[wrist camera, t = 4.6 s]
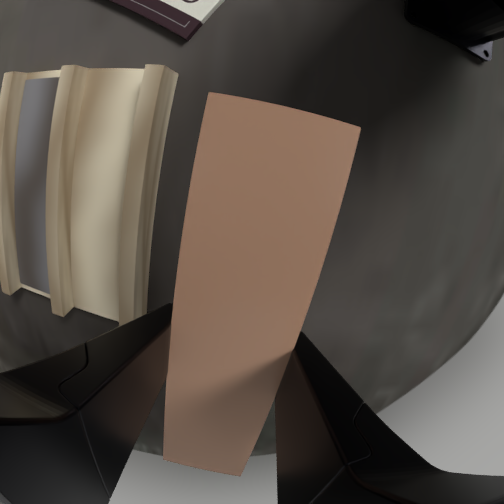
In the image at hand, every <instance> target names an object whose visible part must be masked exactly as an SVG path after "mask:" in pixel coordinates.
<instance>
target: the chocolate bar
mask: <svg viewBox="0 0 504 504" xmlns="http://www.w3.org/2000/svg"><path fill="white" fill-rule="evenodd" d="M109 1H111V2H113V3H116V4H118V5H120V6H122V7H124V8H126V9H129V10H131V11H133V12H135V13H137V14H139V15H141V16H143V17H145V18H147V19H149V20H151V21H153V22H155V23H156V24H158V25H160V26H162V27H164V28H166V29H168V30H170V31H171V32H173V33H175V34H177V35H178V36H180V37H182V38H184V39H185V40H187V41H189V40H190V39H191V37H192V36H193V35H194V34H195V33H196V32H197V30H198V29H199V28H200V27H201V26H202V25H203V24H204V22H205V21H206V20H207V19H208V18H209V17H210V16H211V15H212V14H213V12H214V11H215V10H216V9H217V8H218V7H219V6H220V5H221V4H222V3H223V2H224V1H225V0H109Z"/></svg>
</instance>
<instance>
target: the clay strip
mask: <svg viewBox="0 0 504 504" xmlns="http://www.w3.org/2000/svg"><path fill="white" fill-rule="evenodd" d="M360 130H361V127H358V126H355V125H352V124H348V123H345V122H342V121H338V120H335V119H332V118H328V117H325V116H321V115H317V114H314V113H310V112H306V111H302V110H298V109H294V108H290V107H286V106H281V105H277V104H272V103H268V102H263V101H258V100H253V99H248V98H243V97H237V96H231V95H226V94H219V93H213V92H209V93H208V98H207V102H206V107H205V111H204V116H203V121H202V126H201V130H200V135H199V140H198V145H197V150H196V156H195V161H194V166H193V172H192V177H191V183H190V189H189V195H188V201H187V207H186V213H185V219H184V226H183V232H182V239H181V246H180V254H179V261H178V269H177V277H176V285H175V293H174V302H173V311H172V321H171V336H170V349H169V363H168V373H167V382H166V398H165V418H164V449H163V459H164V460H167V461H171V462H174V463H178V464H182V465H186V466H190V467H195V468H199V469H204V470H208V471H213V472H218V473H224V474H229V475H235V476H241V474H242V472H243V470H244V468H245V465H246V463H247V461H248V459H249V457H250V454H251V452H252V450H253V448H254V446H255V443H256V441H257V439H258V436H259V434H260V432H261V430H262V427H263V425H264V422H265V420H266V418H267V415H268V413H269V411H270V408H271V406H272V403H273V401H274V398H275V396H276V393H277V390H278V388H279V385H280V382H281V380H282V377H283V374H284V372H285V369H286V366H287V364H288V361H289V358H290V355H291V353H292V350H293V349H294V347H295V344H296V342H297V339H298V336H299V333H300V331H301V328H302V325H303V322H304V319H305V317H306V314H307V311H308V308H309V305H310V302H311V299H312V296H313V293H314V290H315V287H316V284H317V281H318V278H319V275H320V272H321V269H322V266H323V263H324V260H325V257H326V253H327V250H328V247H329V244H330V240H331V237H332V234H333V230H334V227H335V224H336V220H337V217H338V213H339V210H340V207H341V203H342V199H343V196H344V192H345V189H346V185H347V181H348V178H349V174H350V170H351V166H352V162H353V158H354V154H355V150H356V146H357V142H358V138H359V134H360Z"/></svg>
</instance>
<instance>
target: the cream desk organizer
mask: <svg viewBox="0 0 504 504" xmlns="http://www.w3.org/2000/svg"><path fill="white" fill-rule="evenodd" d="M178 75H179V74H178V73H176V72H174V71H173V70H171V69H169V68H168V67H166V66H164V65H150V64H146V66H145V69H129V68H92V69H88V68H85V67H81V66H78V65H66V66H62V68H61V70H54V71H43V72H33V73H22V72H14V71H13V72H7V73H4V78H3V83H2V89H1V95H0V281H1V287H2V292H4V293H6V294H8V295H11V294H13V293H14V292H15V291H17V290H18V289H19V288H21V287H23V288H25V289H28V290H30V291H33V292H35V293H38V294H40V295H43V296H46V297H48V298H51V306H52V313H54V314H56V315H59V316H61V317H64V316H65V315H66V314H67V313H68V312H69V311H70V310H71V309H72V308H73V307H76V308H79V309H82V310H85V311H87V312H90V313H93V314H97V315H100V316H103V317H106V318H109V319H112V320H115V321H119V326H121V325H123V324H126V323H128V322H130V321H132V320H134V319H136V318H138V317H141V316H143V315H145V314H147V296H148V280H149V266H150V254H151V243H152V233H153V223H154V215H155V206H156V198H157V191H158V183H159V176H160V170H161V163H162V157H163V151H164V145H165V139H166V133H167V128H168V122H169V117H170V112H171V107H172V102H173V97H174V93H175V88H176V83H177V79H178Z"/></svg>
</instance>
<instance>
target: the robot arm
mask: <svg viewBox="0 0 504 504" xmlns="http://www.w3.org/2000/svg"><path fill="white" fill-rule="evenodd" d="M411 13H412V14H414V15H415V17H416V18H413V17H412V16H411ZM404 14H405V18H406V19H407V20H408V21H409V22H410V23H412V24H415V25H417V26H419V27H421V28H423V29H426V30H428V31H430V32H432V33H434V34H436V35H438V36H440V37H442V38H444V39H446V40H448V41H449V42H451V43H453V44H455V45H457V46H459V47H460V48H462V49H464V50H466V51H467V52H469V53H471V54H472V55H474V56H476V57H477V58H479V59H481V60H482V61H490V60H491V58H492V41H494V40H497V39H500V38H503V37H504V0H406V4H405V13H404ZM483 52H484V53H485V54H486V56H485V55H484V53H483ZM172 311H173V304H172V303H168V304H166V305H164V306H162V307H160V308H158V309H155V310H153V311H151V312H149V313H147V314H145V315H143V316H141V317H138V318H136V319H134V320H132V321H130V322H128V323H126V324H123V325H121V326H119V327H117V328H115V329H113V330H110V331H108V332H106V333H104V334H102V335H100V336H98V337H95V338H93V339H91V340H89V341H87V342H86V343H82V344H80V345H78V346H76V347H73V348H71V349H69V350H66V351H64V352H62V353H59V354H57V355H54V356H51V357H48V358H46V359H43V360H40V361H37V362H34V363H31V364H28V365H25V366H22V367H19V368H15V369H12V370H9V371H6V372H2V373H0V504H108V503H109V501H110V498H111V496H112V493H113V491H114V489H115V487H116V485H117V482H118V480H119V478H120V476H121V474H122V471H123V469H124V467H125V465H126V463H127V460H128V458H129V456H130V454H131V452H132V450H133V447H134V445H135V443H136V441H137V439H138V437H139V434H140V432H141V430H142V428H143V426H144V424H145V422H146V419H147V417H148V415H149V413H150V411H151V409H152V407H153V404H154V402H155V400H156V398H157V396H158V394H159V392H160V390H161V388H162V386H163V383H164V381H165V379H166V376H167V373H168V363H169V349H170V336H171V321H172ZM363 403H364V401H363V400H362V398H361V397H360V396H359V395H358V394H357V393H356V392H355V391H354V390H353V388H352V387H351V386H350V385H349V384H348V383H347V382H346V381H345V379H344V378H343V377H342V376H341V375H340V374H339V373H338V372H337V370H336V369H335V368H334V367H333V366H332V365H331V364H330V362H329V361H328V360H327V359H326V358H325V357H324V356H323V355H322V353H321V352H320V351H319V350H318V349H317V348H316V347H315V345H314V344H313V343H312V342H311V341H310V340H309V339H308V337H307V336H306V335H305V334H304V333H303V332H301V331H300V333H299V336H298V339H297V342H296V344H295V347H294V349H293V350H292V353H291V355H290V358H289V361H288V364H287V366H286V369H285V372H284V374H283V377H282V380H281V382H280V385H279V388H278V390H277V393H276V396H275V420H276V454H277V493H278V494H277V495H278V504H504V476H487V475H472V474H461V473H452V472H447V471H443V470H440V469H438V468H436V467H434V466H432V465H431V464H430V463H428V462H427V461H426V460H425V459H423V458H422V457H421V456H420V455H419V454H417V452H415V451H414V450H413V449H412V448H411V447H410V446H409V445H408V444H406V443H405V442H404V441H403V440H402V439H401V438H400V437H399V436H397V435H396V434H395V433H394V432H393V431H392V430H391V429H390V428H389V427H388V426H387V425H386V424H385V423H384V422H383V421H382V420H381V419H380V418H379V417H378V416H377V415H376V414H375V413H374V412H373V411H372V410H371V408H370V407H369V406H368V405H367V404H366V403H364V404H363Z"/></svg>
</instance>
